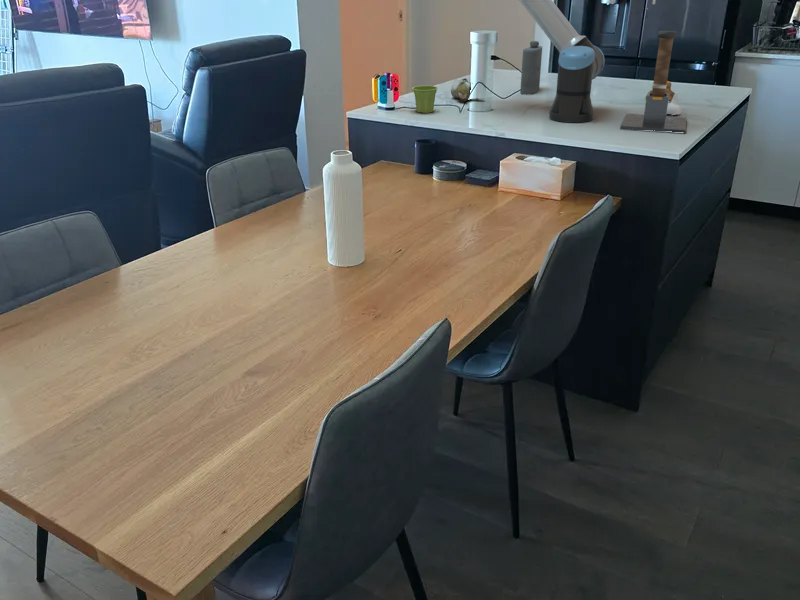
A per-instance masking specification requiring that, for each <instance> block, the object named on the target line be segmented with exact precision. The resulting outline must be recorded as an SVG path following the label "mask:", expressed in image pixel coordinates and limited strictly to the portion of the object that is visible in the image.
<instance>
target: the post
mask: <svg viewBox="0 0 800 600" xmlns="http://www.w3.org/2000/svg"><path fill="white" fill-rule="evenodd" d="M677 36H678V31H675V30H659V31H658V33H657V38H659V42H658V48H657V49H658V50H657V55H656V56H657V57H656V63H655V70H654V77H653V83H652V87H651V90H652V96H665V91H666V87H667V81H668V78H669V70H670V63H671V58H672V57H671V56H672V49H673V43H674V39H675V38H677Z"/></svg>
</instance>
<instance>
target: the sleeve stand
mask: <svg viewBox="0 0 800 600" xmlns="http://www.w3.org/2000/svg"><path fill="white" fill-rule="evenodd" d="M669 94H670V93H665V96H652V92H650V91H648V92H647V94H646V95H647V98H646V99H645V107H644V114H641V113H640V114H639V113H625V116H624V117H623V119H622V122H621V124H620V128H619V130H621V129H631V130H630V131H636V130H653V131H654V130H655V131H672V132H685V133H686V127H687V118H688V117H687V116H673V115H667V114H666V113H667V107H668V104H669V103H668V100H669ZM632 129H633V130H632Z"/></svg>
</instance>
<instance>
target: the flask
mask: <svg viewBox="0 0 800 600" xmlns="http://www.w3.org/2000/svg"><path fill="white" fill-rule="evenodd" d="M542 56H543V46H542V45H540V42H539V41H537V40H532V41H530V42H529V47H526V48H523V49H522V60H521V61H522V62H521V77H520V90H519V91H520V93H519V94H520V95H523V94H526V96H528V95H527V94H531V95H534V94H536V93H538V92H539V90H540V85H541V84H540V83H541V71H542V68H541V67H542Z"/></svg>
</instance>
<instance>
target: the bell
mask: <svg viewBox="0 0 800 600" xmlns="http://www.w3.org/2000/svg"><path fill="white" fill-rule="evenodd" d="M671 87H672V82H671V81H669V80H667V87H666V91H665V93H670V94H669V100H668V101H672V99H673V97H674V94H675V92H674V91H673V90H672V89H671ZM649 92H652V89H651V90H650V91H649ZM645 98H647V94H646V95H645Z"/></svg>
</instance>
